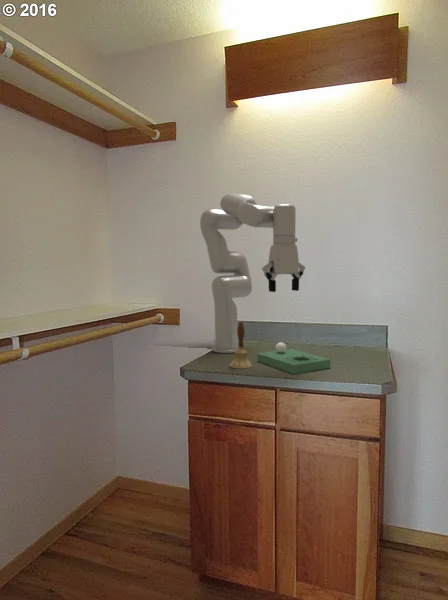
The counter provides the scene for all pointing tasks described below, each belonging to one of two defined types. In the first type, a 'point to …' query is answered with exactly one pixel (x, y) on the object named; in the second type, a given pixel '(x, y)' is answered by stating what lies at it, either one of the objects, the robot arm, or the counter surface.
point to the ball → (281, 347)
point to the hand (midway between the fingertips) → (283, 291)
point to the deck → (293, 361)
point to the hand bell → (240, 352)
